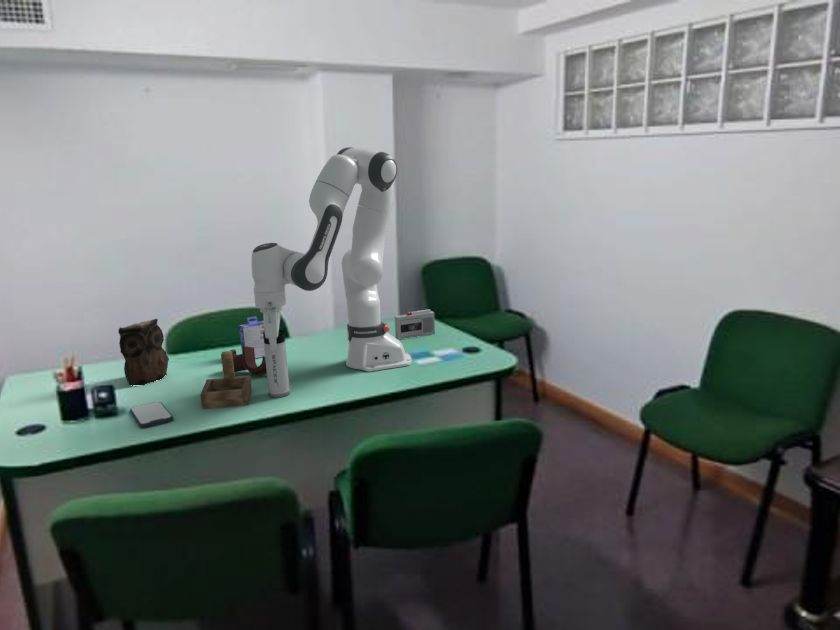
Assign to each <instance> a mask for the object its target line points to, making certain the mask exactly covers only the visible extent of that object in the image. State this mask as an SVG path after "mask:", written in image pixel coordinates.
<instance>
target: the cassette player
mask: <svg viewBox="0 0 840 630" xmlns="http://www.w3.org/2000/svg"><path fill="white" fill-rule="evenodd" d="M435 323H436V322H435V312H434V311H432V310H431V309H429V308H428V309H421V310H417V311H408V312H406V314H399V315H395V316H394V329H395V338H397V339H402V340H405V339H404V338H408V339H411V338H410V337H415V338H418V337H417V336H421V337H424V336H423V335H427V336H431V335H430V334H434V335H435V334H436V332H435V331H436V325H435Z"/></svg>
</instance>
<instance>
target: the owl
mask: <svg viewBox="0 0 840 630" xmlns="http://www.w3.org/2000/svg"><path fill="white" fill-rule="evenodd" d="M158 320H159V319H158V318H153V319H151V320H146V321H145V320H144V321H141V322H138V323H133V324H131V325H127V326H125V327H121V326H120V327H119V328H118V331H117V332H118V335H119V343H118V344H119V349H120V353H121V355H122V356H123V359H124V365H123V372H124V376H125V379H126V381H127V382H128V386H129V385H132V386H133V385H143V386H146V385H145V384H147V383H149V384H151V383H150V382H153V383H155V382H157V381H156V380H159V381H161V380H163V379H164V378H165V377H166V376H168V373H167V371H168V367H169V361H170V359H169V357H168V354H167V351H166V350H165V349H164V348H163V343H164V341H165V339H164V338H165V337H164V333H163V330H162V328H161V327H160V326H159V325H158V322H159V321H158ZM165 375H166V376H165ZM164 376H165V377H164ZM163 377H164V378H163ZM162 378H163V379H162ZM160 379H161V380H160ZM154 381H155V382H154ZM147 385H148V384H147Z"/></svg>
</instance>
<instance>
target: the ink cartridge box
mask: <svg viewBox="0 0 840 630" xmlns="http://www.w3.org/2000/svg"><path fill="white" fill-rule="evenodd" d="M253 319H254V320H253ZM246 320H247V323H245V324H240V325H238V331H239V332H238V333H239V339H240V346H241V354H243V347H242V346H243V345H245V346H252V347H254V351H255V359H258V358H262V357H263V356H265V350H264V337H263V332H264V320H261V321H259V320H258V317H257V316H256V315H255V316H250V317H249V316H248V317H246Z"/></svg>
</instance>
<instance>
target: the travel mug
mask: <svg viewBox="0 0 840 630" xmlns="http://www.w3.org/2000/svg"><path fill="white" fill-rule="evenodd" d="M263 337H264V350H265V360H266V370H267V373H266V379H267V389H268V396H269V397H270V398H275V399H278V398H284V397H287V396H288V395H290V393H291V391H290V390H291V389H290V379H289V377H290V376H289V368H288V367H289V366H288V357H287V345H286V335H285V332H284V331H283V330H282V329H279V333H278V337H277V338H276V341H277V349H276V350H271V348H270V342H269V338H266V337H265V331H264V332H263Z"/></svg>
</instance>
